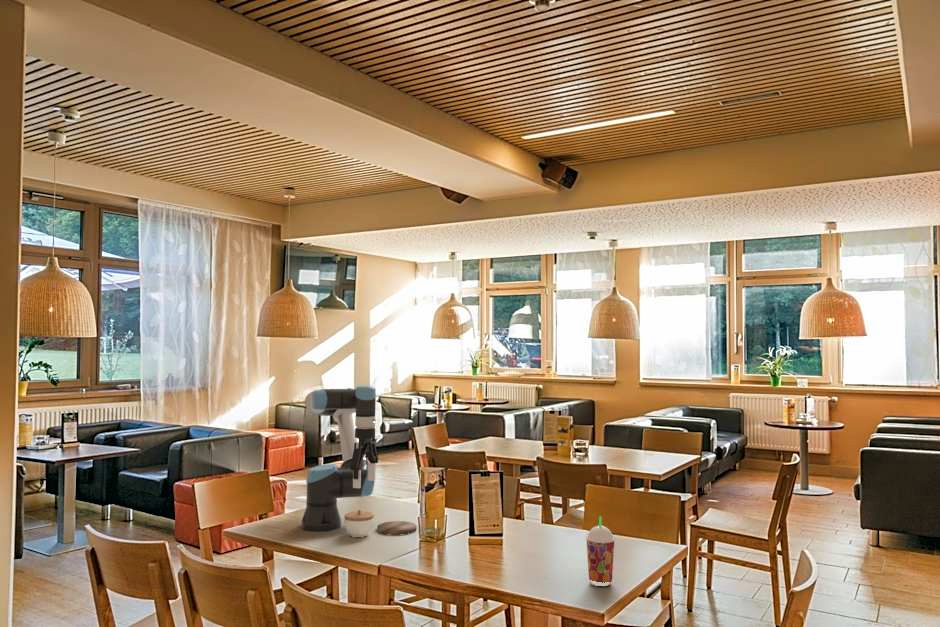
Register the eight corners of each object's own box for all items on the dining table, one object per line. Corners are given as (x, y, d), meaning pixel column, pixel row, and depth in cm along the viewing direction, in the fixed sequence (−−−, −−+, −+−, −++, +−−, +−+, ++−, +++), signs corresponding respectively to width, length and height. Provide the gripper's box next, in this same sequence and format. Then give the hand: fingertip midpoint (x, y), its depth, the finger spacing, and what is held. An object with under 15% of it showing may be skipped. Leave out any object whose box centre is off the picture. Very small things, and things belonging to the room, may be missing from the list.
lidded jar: (339, 538, 264) (339, 512, 265) (352, 530, 274) (352, 506, 275) (365, 540, 261) (366, 514, 261) (378, 533, 271) (378, 508, 272)
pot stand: (370, 533, 271) (370, 529, 271) (387, 523, 285) (387, 519, 285) (407, 536, 266) (407, 532, 266) (422, 526, 281) (422, 523, 281)
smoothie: (611, 579, 220) (611, 513, 220) (617, 588, 211) (617, 520, 212) (583, 579, 219) (583, 513, 220) (589, 589, 211) (589, 520, 212)
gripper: (360, 432, 257) (359, 492, 257) (387, 423, 281) (386, 478, 281) (341, 431, 259) (340, 490, 259) (369, 422, 283) (368, 476, 283)
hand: (364, 484), depth 270 cm, fingers open, 13 cm apart
